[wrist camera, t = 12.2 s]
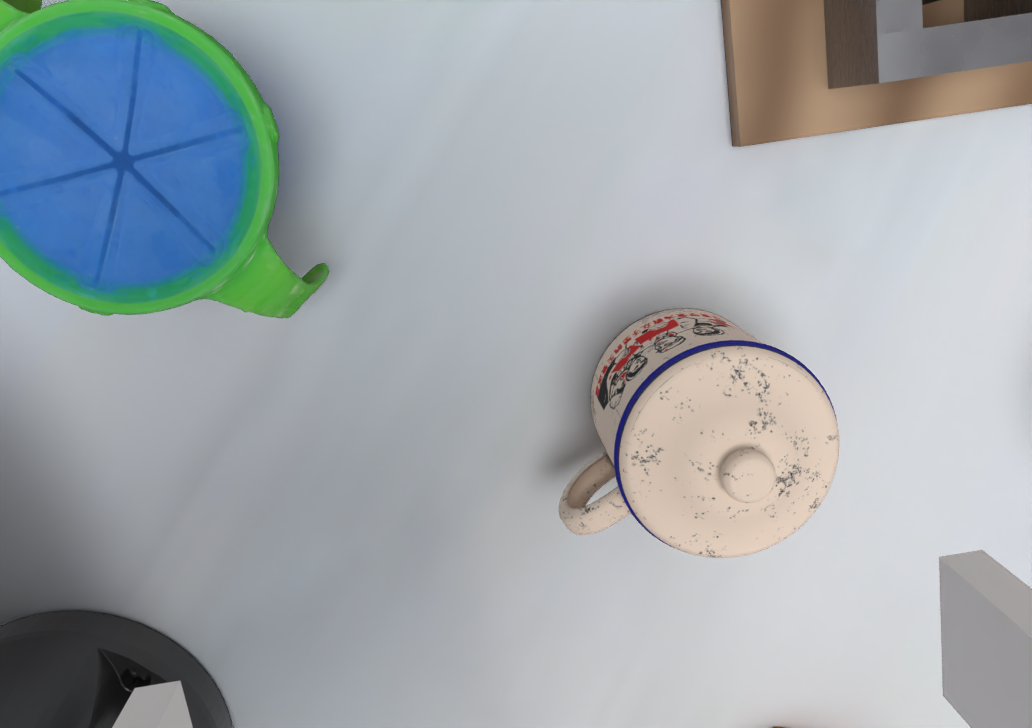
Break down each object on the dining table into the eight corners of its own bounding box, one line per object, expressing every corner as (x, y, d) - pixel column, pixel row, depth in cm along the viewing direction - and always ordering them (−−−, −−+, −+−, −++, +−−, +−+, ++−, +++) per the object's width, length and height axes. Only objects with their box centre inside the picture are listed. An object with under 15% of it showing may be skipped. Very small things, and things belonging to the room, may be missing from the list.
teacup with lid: (706, 264, 43) (796, 310, 32) (801, 414, 46) (916, 506, 34) (498, 406, 44) (514, 499, 33) (600, 546, 47) (648, 678, 35)
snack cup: (401, 219, 42) (385, 246, 32) (227, 361, 43) (160, 429, 33) (159, -76, 38) (58, -148, 29) (-25, 86, 39) (-183, 71, 30)
